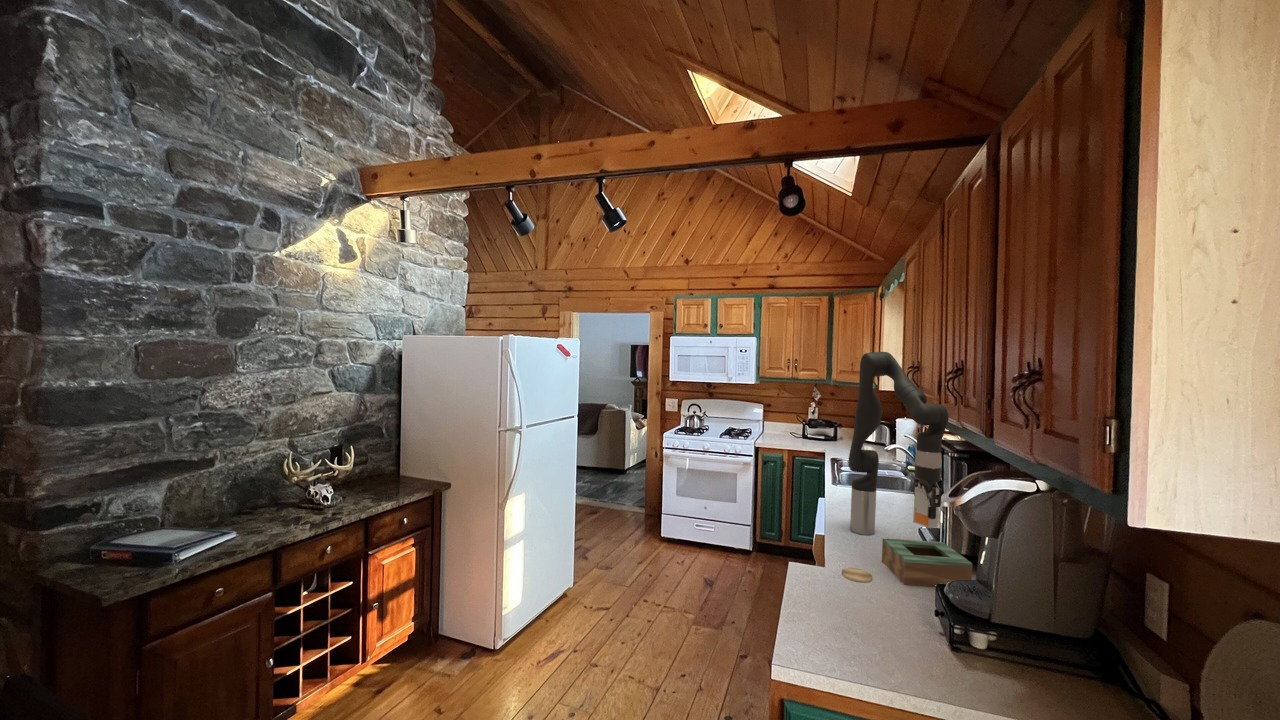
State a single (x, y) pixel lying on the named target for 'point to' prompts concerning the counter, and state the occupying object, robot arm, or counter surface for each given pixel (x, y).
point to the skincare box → (923, 510)
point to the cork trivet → (857, 575)
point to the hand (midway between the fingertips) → (926, 514)
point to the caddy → (924, 562)
